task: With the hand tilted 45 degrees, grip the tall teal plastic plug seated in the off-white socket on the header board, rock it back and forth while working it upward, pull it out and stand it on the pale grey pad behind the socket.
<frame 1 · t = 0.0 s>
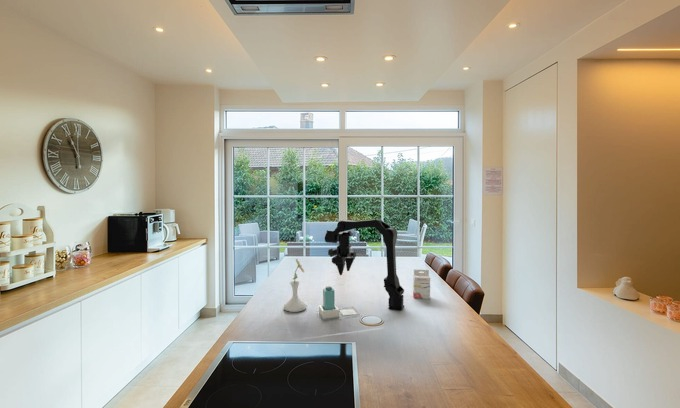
hand: (344, 272, 181), 15 cm above the counter, tool pointing down, fingers open, 9 cm apart
flower in vase: (295, 309, 170), on the counter
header: (329, 315, 160), on the counter
plug: (328, 314, 160), point 1 cm above the counter, touching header
ink cartridge box: (421, 297, 186), on the counter
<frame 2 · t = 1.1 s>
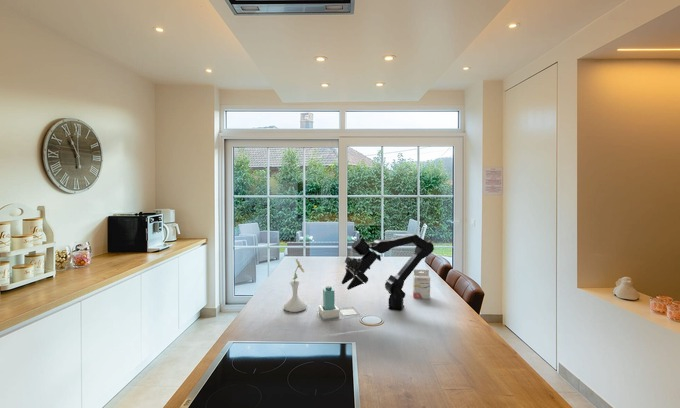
hand: (344, 286, 162), 13 cm above the counter, tool tilted 45°, fingers open, 9 cm apart
nothing on the counter moved.
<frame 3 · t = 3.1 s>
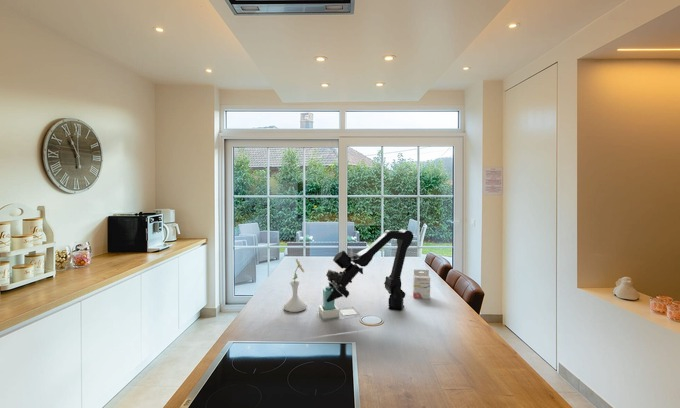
hand: (325, 300, 160), 8 cm above the counter, tool tilted 45°, fingers closed on plug, 4 cm apart
plug: (328, 314, 160), point 1 cm above the counter, touching gripper, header
everything else where it was.
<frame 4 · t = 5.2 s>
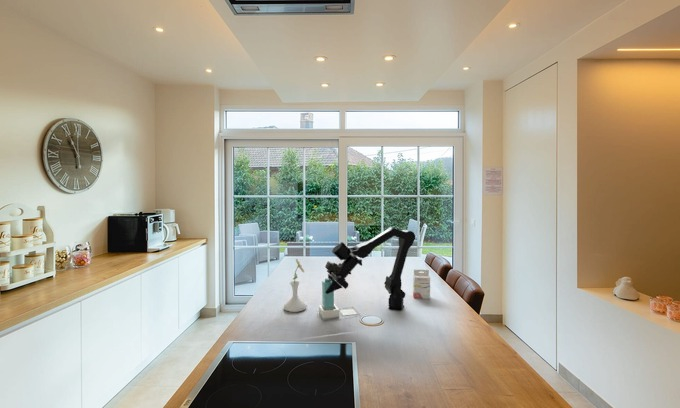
hand: (325, 291, 159), 12 cm above the counter, tool tilted 45°, fingers closed on plug, 4 cm apart
plug: (328, 306, 160), point 5 cm above the counter, touching gripper
everything else where it was.
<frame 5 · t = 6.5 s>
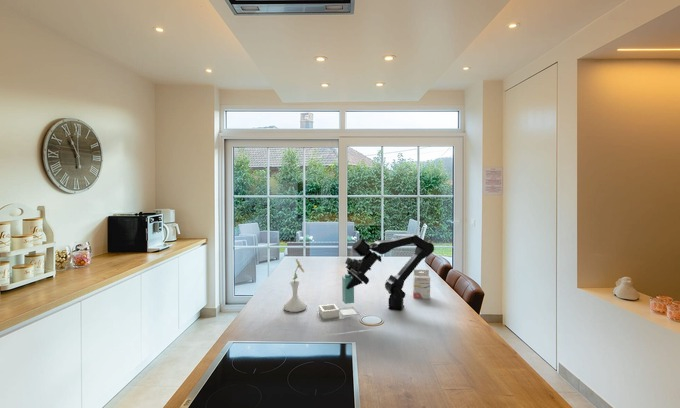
hand: (345, 287, 162), 13 cm above the counter, tool tilted 45°, fingers closed on plug, 4 cm apart
plug: (348, 301, 163), point 6 cm above the counter, touching gripper
everything else where it was.
when the fingers open (9 cm above the counter, at t = 7.7 s): plug stays where it is, resting on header.
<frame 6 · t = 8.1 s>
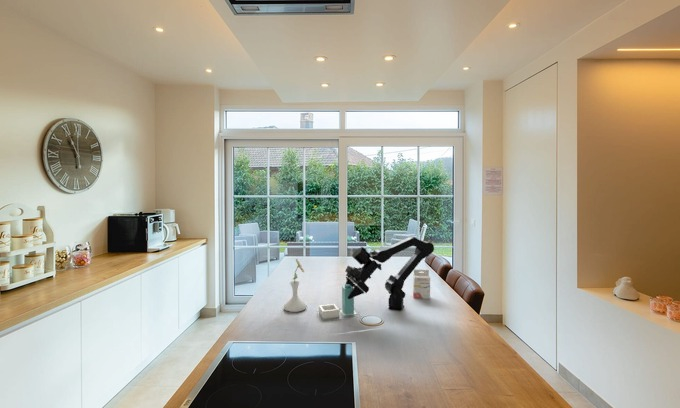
hand: (345, 295, 162), 9 cm above the counter, tool tilted 45°, fingers open, 9 cm apart
plug: (348, 311, 163), point 1 cm above the counter, touching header
everything else where it was.
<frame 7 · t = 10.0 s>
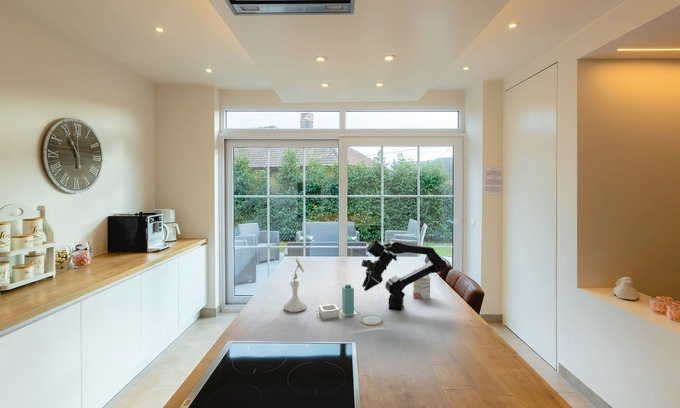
hand: (363, 288, 167), 11 cm above the counter, tool tilted 40°, fingers open, 9 cm apart
nothing on the counter moved.
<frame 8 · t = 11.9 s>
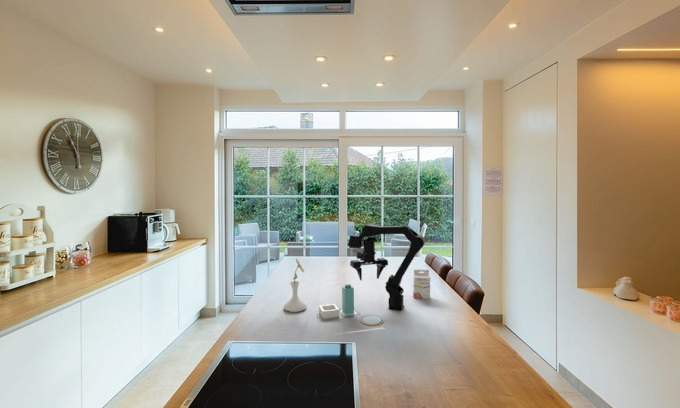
hand: (369, 279, 174), 13 cm above the counter, tool pointing down, fingers open, 9 cm apart
nothing on the counter moved.
at the end: plug inside the target area (0.3 cm from its centre), point 0.8 cm above the counter; plug tilted 0°; the gripper is holding nothing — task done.
